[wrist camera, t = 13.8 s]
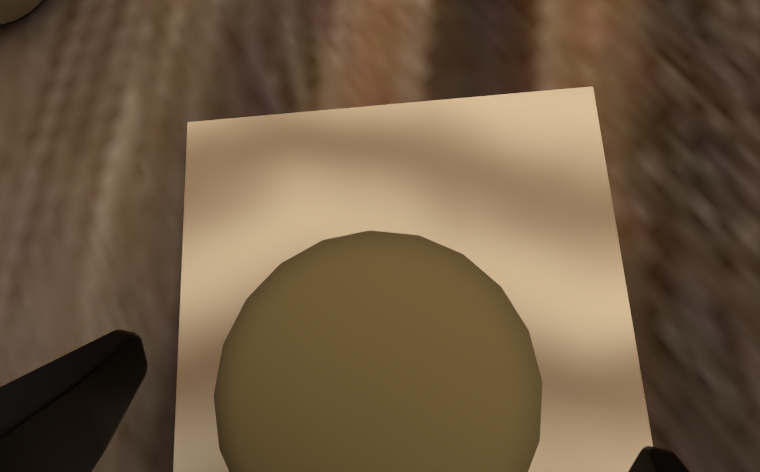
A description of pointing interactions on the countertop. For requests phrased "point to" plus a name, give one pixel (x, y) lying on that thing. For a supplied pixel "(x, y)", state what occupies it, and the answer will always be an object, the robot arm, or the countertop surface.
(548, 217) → the birch board
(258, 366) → the olive pepper mill
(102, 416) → the robot arm
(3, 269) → the countertop surface
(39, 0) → the cream bowl
